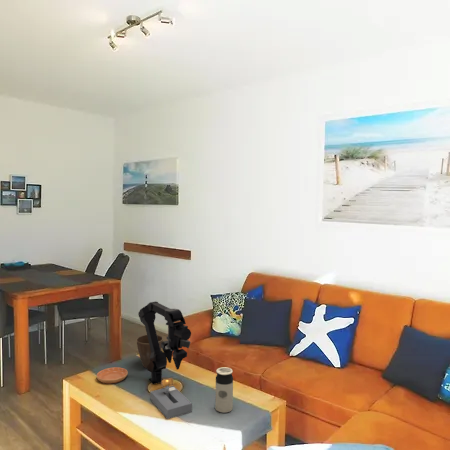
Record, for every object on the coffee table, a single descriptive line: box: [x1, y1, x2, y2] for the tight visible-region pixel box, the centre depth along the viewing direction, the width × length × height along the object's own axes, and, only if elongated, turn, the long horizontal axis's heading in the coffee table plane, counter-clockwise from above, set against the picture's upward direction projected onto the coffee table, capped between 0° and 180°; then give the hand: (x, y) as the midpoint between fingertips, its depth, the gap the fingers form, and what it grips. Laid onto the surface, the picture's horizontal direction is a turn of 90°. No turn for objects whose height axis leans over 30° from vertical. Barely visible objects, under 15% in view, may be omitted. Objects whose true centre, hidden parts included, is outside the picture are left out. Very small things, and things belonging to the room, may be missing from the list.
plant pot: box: [136, 334, 164, 369], centre depth 229 cm, size 15×15×16 cm
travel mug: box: [214, 366, 234, 414], centre depth 183 cm, size 8×8×18 cm
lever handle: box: [160, 377, 174, 398], centre depth 188 cm, size 3×5×10 cm
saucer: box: [96, 366, 129, 385], centre depth 213 cm, size 16×16×3 cm
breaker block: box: [149, 385, 193, 420], centre depth 185 cm, size 20×12×4 cm, turn 32°
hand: (173, 365), depth 198 cm, fingers open, 9 cm apart
